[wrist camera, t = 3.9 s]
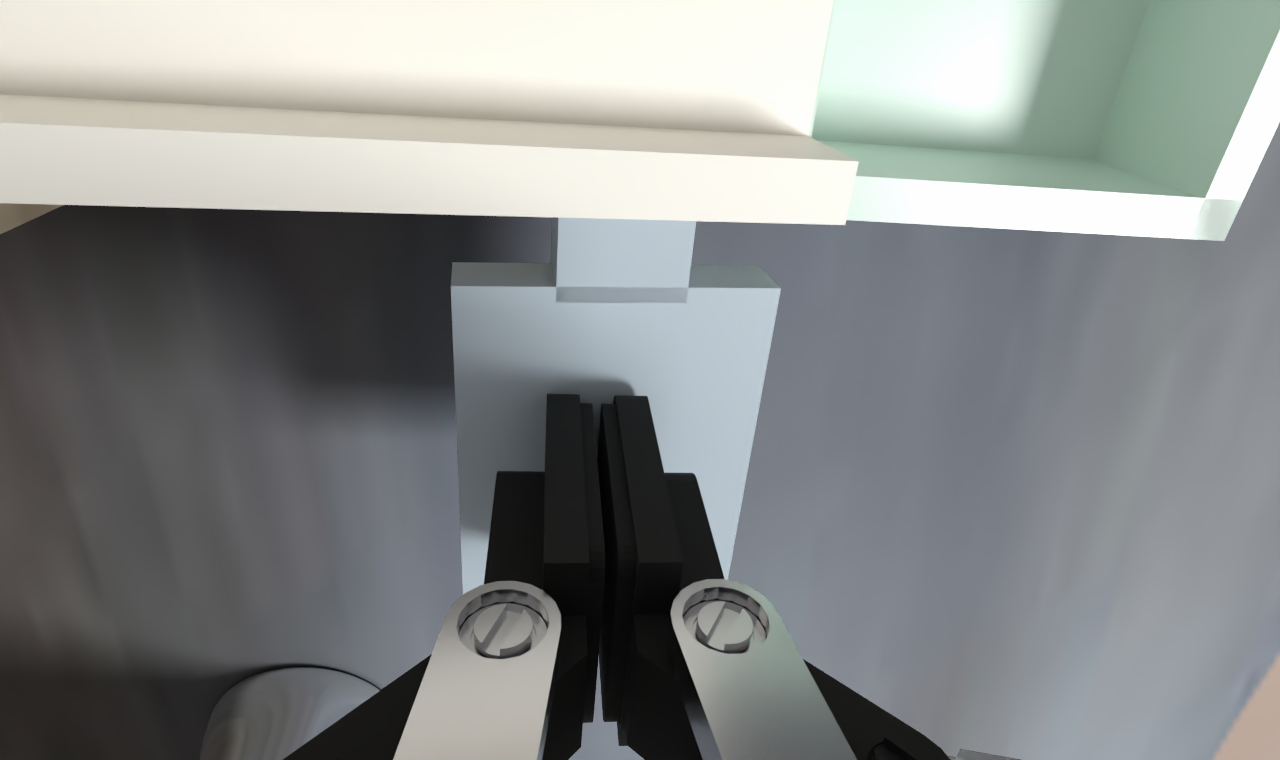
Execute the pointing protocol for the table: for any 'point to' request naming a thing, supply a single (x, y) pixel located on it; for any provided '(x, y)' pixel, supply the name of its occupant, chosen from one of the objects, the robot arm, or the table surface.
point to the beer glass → (280, 712)
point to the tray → (1052, 111)
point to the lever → (475, 178)
